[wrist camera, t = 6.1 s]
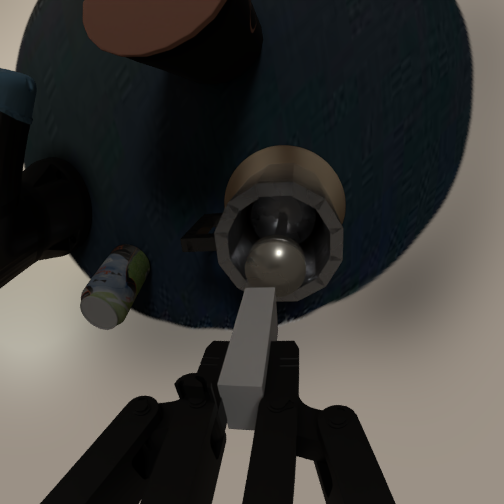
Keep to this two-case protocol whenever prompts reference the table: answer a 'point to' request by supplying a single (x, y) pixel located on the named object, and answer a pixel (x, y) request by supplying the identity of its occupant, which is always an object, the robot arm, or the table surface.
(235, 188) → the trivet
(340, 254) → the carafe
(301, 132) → the table surface
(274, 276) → the plunger
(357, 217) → the table surface
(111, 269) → the beverage can
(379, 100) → the table surface
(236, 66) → the coffee jar
